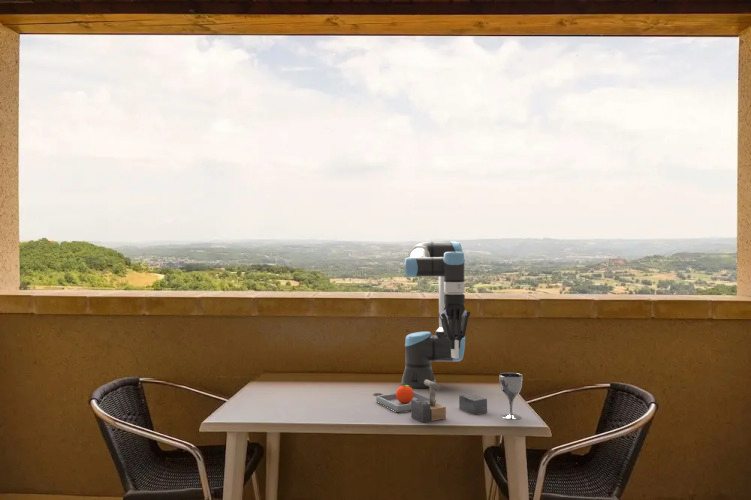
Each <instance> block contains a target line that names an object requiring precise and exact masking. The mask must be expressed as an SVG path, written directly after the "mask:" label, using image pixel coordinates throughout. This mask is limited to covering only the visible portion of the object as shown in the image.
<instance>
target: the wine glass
mask: <svg viewBox="0 0 751 500" xmlns="http://www.w3.org/2000/svg"><path fill="white" fill-rule="evenodd" d="M498 377H499V386H500V389H501V392H502V393H503V394H504V395H505V396H506V397H507V399H508V401H509V413H504V414H501V415H500V417H501V418H502V419H504V420H510V421H518V420H520V419H522V416H521V415H519V414H517V413H513V404H514V399H515V398H516V397H517V396H518V395H519V394H520V392H521V389H522V387H523V374H521V373H517V372H501V373H500V374H499V376H498Z"/></svg>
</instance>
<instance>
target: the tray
mask: <svg viewBox="0 0 751 500" xmlns="http://www.w3.org/2000/svg"><path fill="white" fill-rule="evenodd" d="M413 393H414V396H413V399H412V400H416V399H419V400H421V401H424V402H426V403H429V402H430V396H427V395H424V394H421V393H419V392H417V391H414V390H413ZM375 397H376V399H375V402H376V401H377V402H379V403H381V404H382V405H381V404H380V405H381V406H383V405H384V406H386V407H388V408H390V409H392V410H394V411H396V412H402V413H406V412H405V411H408V412H411V402H409V403H406V404H403V403H401V402H399V401H398V400H397V397H396V392H395V393H389V394H382V395H376V396H375ZM377 402H376V403H377ZM379 403H378V404H379ZM435 403H437V399H435ZM384 406H383V407H384ZM386 407H385V408H386ZM388 408H387V409H388ZM390 409H389V410H390ZM392 410H391V411H392ZM394 411H393V412H394ZM396 412H395V413H396Z"/></svg>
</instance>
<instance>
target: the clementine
mask: <svg viewBox="0 0 751 500" xmlns="http://www.w3.org/2000/svg"><path fill="white" fill-rule="evenodd" d="M413 389H414V388H412V387H411V386H410V387H409V385H400V386H399V387H398V388H397V390H396V392H395V393H396V397H397V400H398V401H399V402H401V403H403V404H406V403H409V402H411V400H412V399H413V396H414V393H413V391H414V390H413Z"/></svg>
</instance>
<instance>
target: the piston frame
mask: <svg viewBox="0 0 751 500" xmlns="http://www.w3.org/2000/svg"><path fill="white" fill-rule="evenodd" d="M458 396H459V397H458V399H459V403H458V404H459V405H458V406H459V407H458V409H460V410H461V411H463V412H466V413H469V414H471V415H479V414H484V413H485V414H486V413H488V398H486V397H484V396H480V395H477V394H476V393H471V392H470V393H465V394H460V395H458ZM410 413H411V416H410V417H411V418H412V417H413V419H414V418H415V419H414V420H416V419H417V421H419V422H421V423H423V424H425V423H429V422H431V417H430V404H428V403H426V402H424V401H421V400H419V399H416V400H411V411H410Z"/></svg>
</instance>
